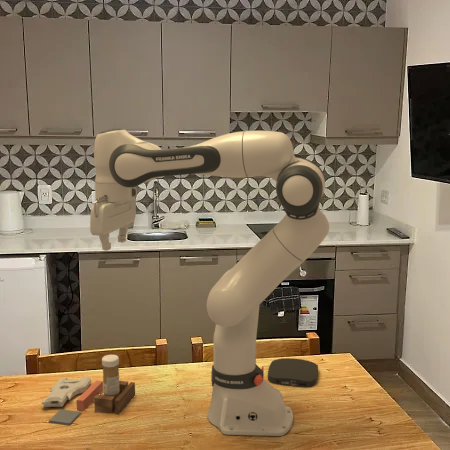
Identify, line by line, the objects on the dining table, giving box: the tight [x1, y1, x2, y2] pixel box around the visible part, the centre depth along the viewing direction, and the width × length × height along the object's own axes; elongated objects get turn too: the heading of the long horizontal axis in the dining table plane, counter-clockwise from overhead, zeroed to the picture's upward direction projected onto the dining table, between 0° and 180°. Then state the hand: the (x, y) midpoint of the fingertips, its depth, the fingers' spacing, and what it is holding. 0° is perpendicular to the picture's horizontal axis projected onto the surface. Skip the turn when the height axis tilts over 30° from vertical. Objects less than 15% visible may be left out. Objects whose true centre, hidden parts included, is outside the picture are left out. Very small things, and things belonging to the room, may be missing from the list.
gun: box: [41, 375, 92, 408], centre depth 164 cm, size 18×3×10 cm
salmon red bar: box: [76, 379, 104, 412], centre depth 162 cm, size 2×12×3 cm, turn 166°
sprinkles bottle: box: [101, 354, 120, 399], centre depth 159 cm, size 5×5×13 cm
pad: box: [48, 408, 82, 426], centre depth 152 cm, size 6×6×1 cm
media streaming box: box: [267, 357, 319, 388], centre depth 177 cm, size 15×15×3 cm
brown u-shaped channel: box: [93, 380, 136, 416], centre depth 160 cm, size 7×11×4 cm, turn 166°
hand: (114, 245), depth 151 cm, fingers open, 8 cm apart
